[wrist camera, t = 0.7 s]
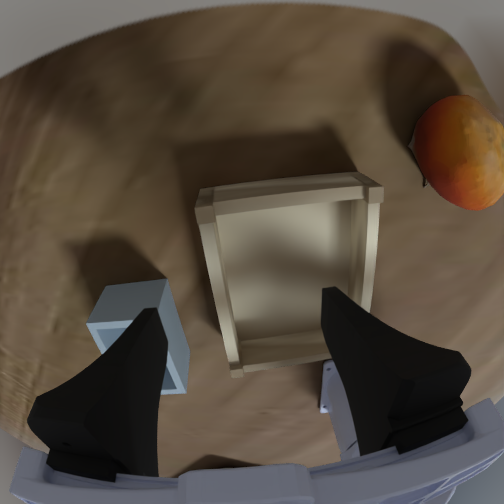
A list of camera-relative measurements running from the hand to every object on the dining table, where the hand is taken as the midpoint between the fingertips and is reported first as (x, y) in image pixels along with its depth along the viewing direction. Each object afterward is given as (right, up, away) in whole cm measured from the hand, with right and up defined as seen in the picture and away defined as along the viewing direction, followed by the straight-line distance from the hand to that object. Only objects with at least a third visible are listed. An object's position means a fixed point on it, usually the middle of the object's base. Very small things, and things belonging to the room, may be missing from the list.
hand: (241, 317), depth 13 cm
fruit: (+15, +11, +7) cm, 20 cm away
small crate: (-8, -3, +12) cm, 15 cm away
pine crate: (+3, +2, +10) cm, 11 cm away
